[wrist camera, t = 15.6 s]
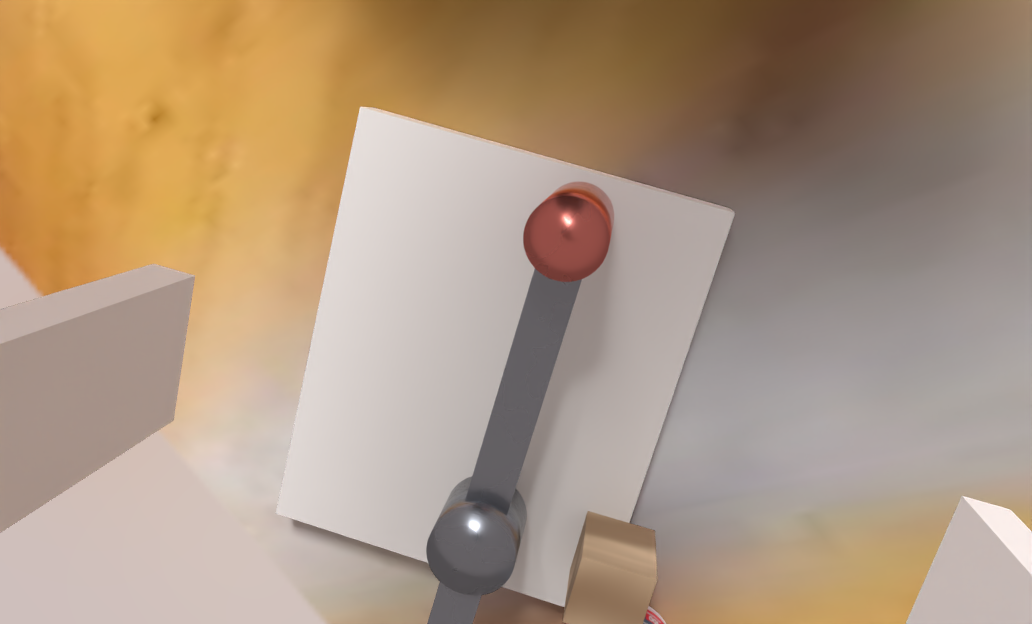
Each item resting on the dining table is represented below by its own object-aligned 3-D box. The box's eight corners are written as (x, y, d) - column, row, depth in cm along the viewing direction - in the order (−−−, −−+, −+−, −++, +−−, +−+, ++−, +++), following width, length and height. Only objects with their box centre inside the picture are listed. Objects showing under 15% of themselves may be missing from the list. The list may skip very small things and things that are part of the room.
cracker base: (373, 107, 40) (346, 106, 36) (730, 208, 38) (740, 217, 35) (290, 496, 45) (260, 529, 42) (598, 596, 44) (595, 639, 40)
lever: (546, 169, 36) (526, 181, 29) (632, 196, 36) (631, 213, 29) (424, 583, 42) (384, 672, 35) (497, 608, 42) (471, 703, 35)
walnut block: (587, 510, 41) (582, 557, 36) (654, 530, 41) (657, 579, 36) (570, 569, 42) (562, 621, 37) (635, 589, 41) (635, 644, 37)
